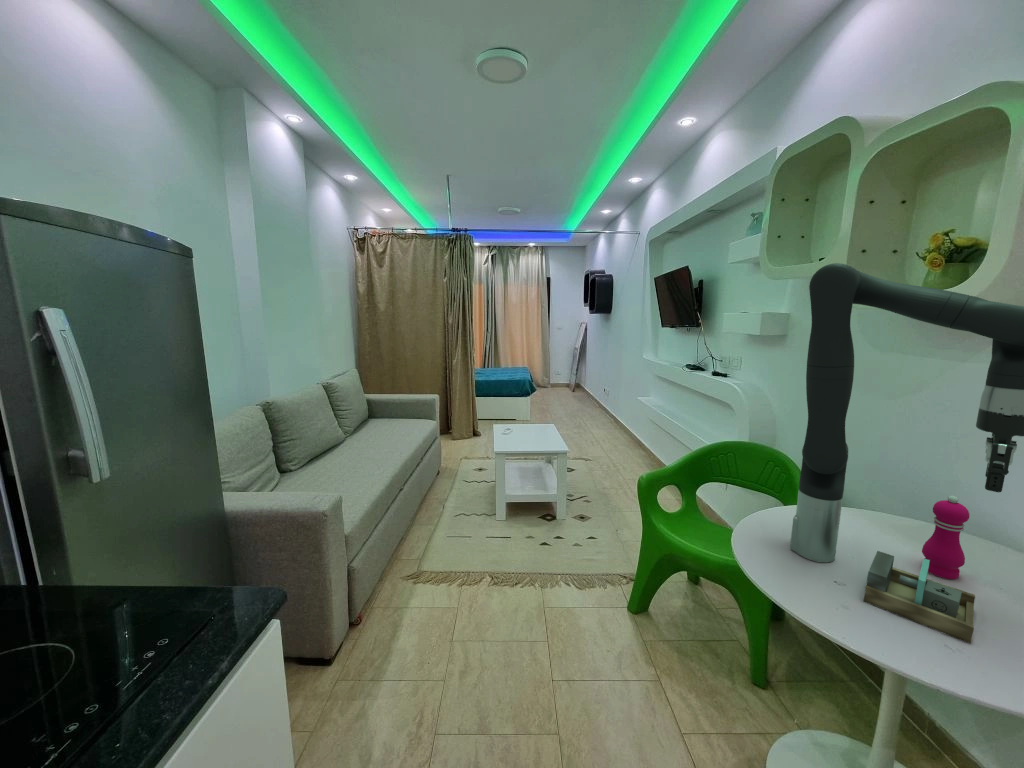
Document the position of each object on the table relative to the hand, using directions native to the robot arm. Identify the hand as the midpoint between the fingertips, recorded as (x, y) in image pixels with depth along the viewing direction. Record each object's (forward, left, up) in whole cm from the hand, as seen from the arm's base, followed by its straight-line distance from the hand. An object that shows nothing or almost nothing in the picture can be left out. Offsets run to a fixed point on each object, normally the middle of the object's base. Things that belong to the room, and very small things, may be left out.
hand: (992, 484), depth 84 cm
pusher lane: (-8, -9, -28) cm, 30 cm away
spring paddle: (-9, -9, -27) cm, 30 cm away
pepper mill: (-5, +11, -28) cm, 31 cm away
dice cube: (-4, -9, -28) cm, 29 cm away
